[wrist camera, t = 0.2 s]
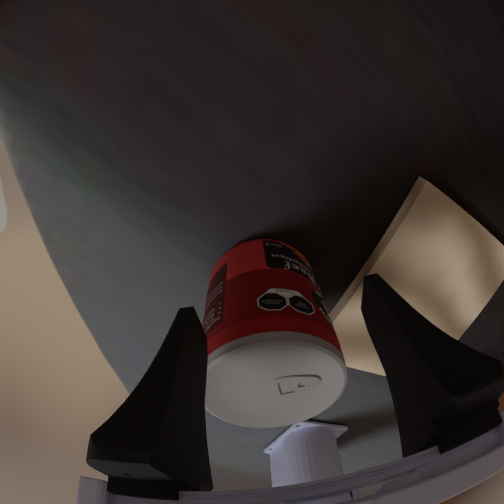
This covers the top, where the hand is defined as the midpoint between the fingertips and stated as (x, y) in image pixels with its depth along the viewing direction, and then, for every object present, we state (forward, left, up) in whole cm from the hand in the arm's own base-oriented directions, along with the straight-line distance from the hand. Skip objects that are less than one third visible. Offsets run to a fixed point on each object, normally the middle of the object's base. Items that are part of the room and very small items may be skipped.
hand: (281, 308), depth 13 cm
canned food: (-5, -2, -11) cm, 12 cm away
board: (-1, -17, -11) cm, 20 cm away
